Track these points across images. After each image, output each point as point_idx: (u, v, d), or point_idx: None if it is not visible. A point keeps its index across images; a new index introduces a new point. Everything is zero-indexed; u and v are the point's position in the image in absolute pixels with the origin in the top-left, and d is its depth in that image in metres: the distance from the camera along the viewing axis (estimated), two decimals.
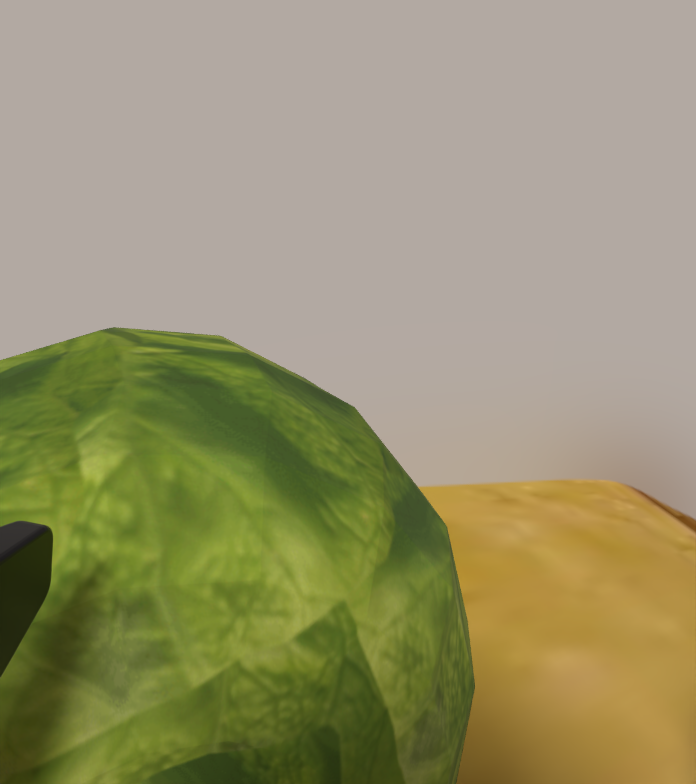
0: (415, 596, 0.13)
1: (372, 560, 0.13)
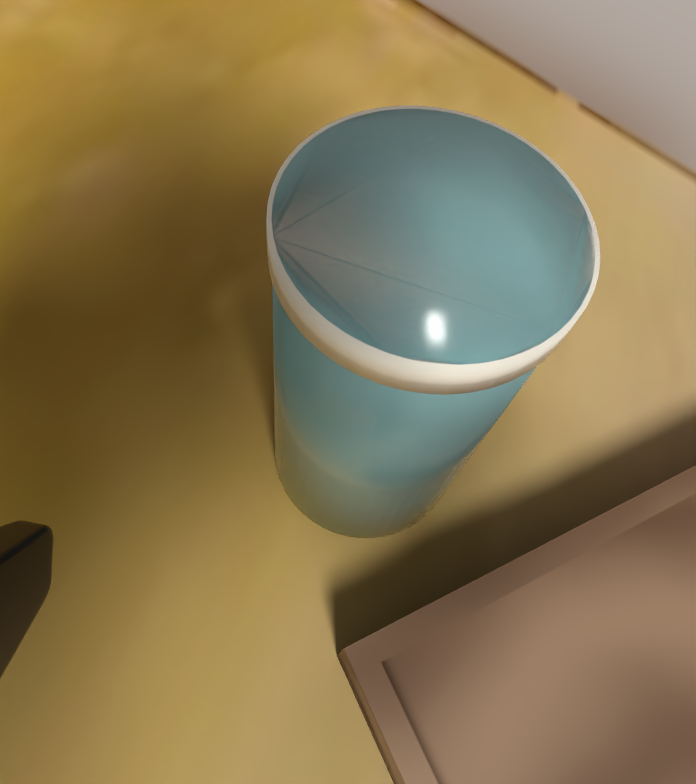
0: None
1: None
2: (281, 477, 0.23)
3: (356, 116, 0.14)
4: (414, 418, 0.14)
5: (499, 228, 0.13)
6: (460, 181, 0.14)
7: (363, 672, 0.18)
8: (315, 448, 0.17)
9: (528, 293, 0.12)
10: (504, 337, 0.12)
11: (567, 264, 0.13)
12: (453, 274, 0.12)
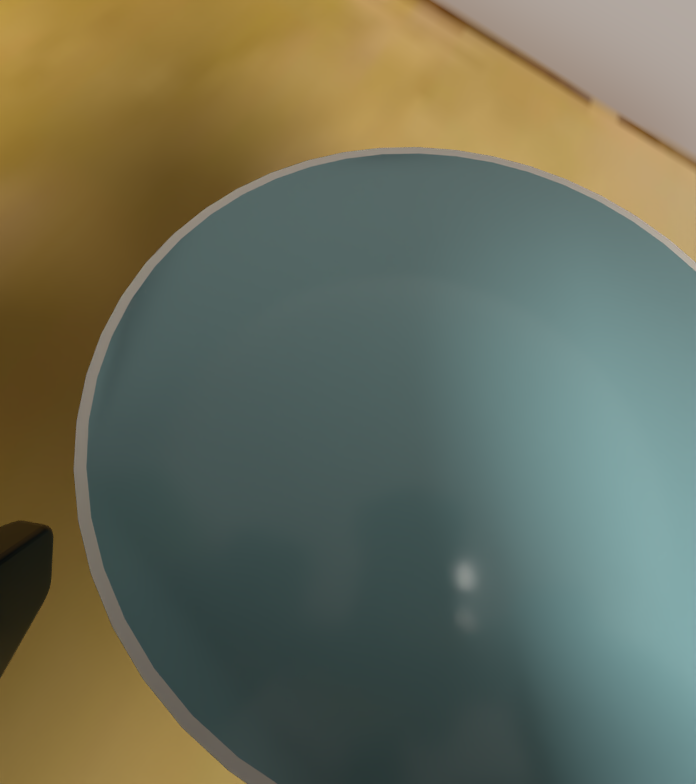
0: None
1: None
2: None
3: (298, 169, 0.07)
4: None
5: (600, 421, 0.06)
6: (510, 310, 0.06)
7: None
8: None
9: (681, 599, 0.05)
10: (638, 740, 0.05)
11: None
12: (505, 553, 0.05)
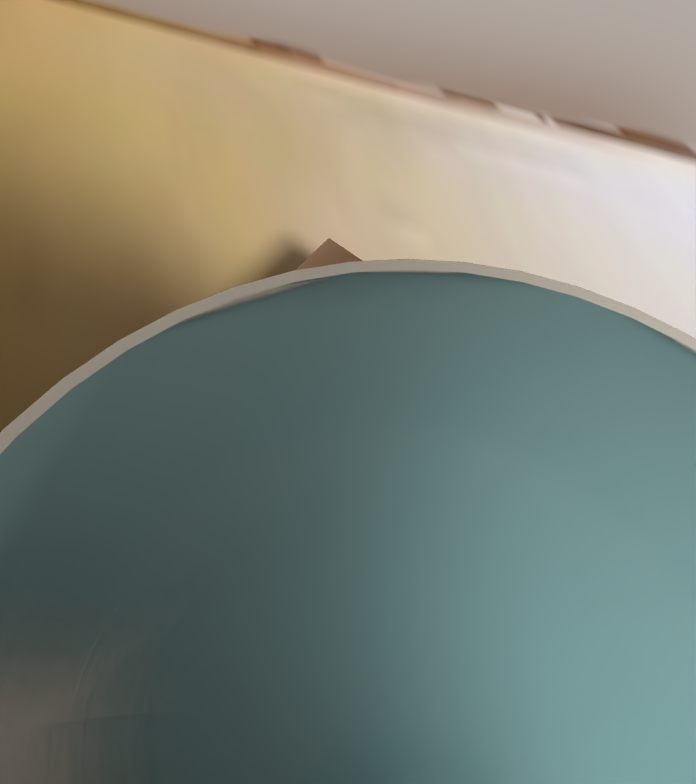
0: None
1: None
2: None
3: (222, 299, 0.05)
4: None
5: None
6: (557, 555, 0.04)
7: None
8: None
9: None
10: None
11: None
12: None
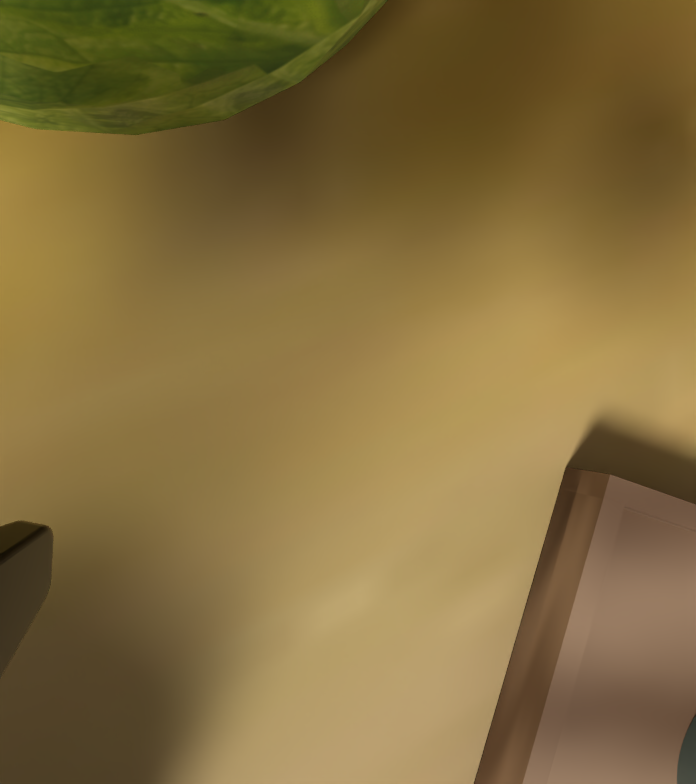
0: None
1: None
2: None
3: None
4: None
5: None
6: None
7: (609, 501, 0.20)
8: None
9: None
10: None
11: None
12: None
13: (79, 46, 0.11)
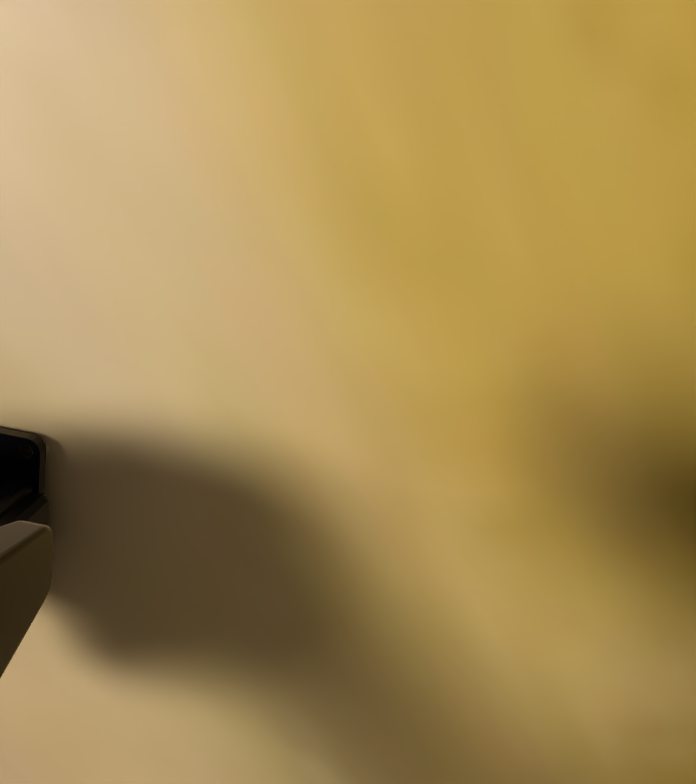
0: None
1: None
2: None
3: None
4: None
5: None
6: None
7: None
8: None
9: None
10: None
11: None
12: None
13: None
